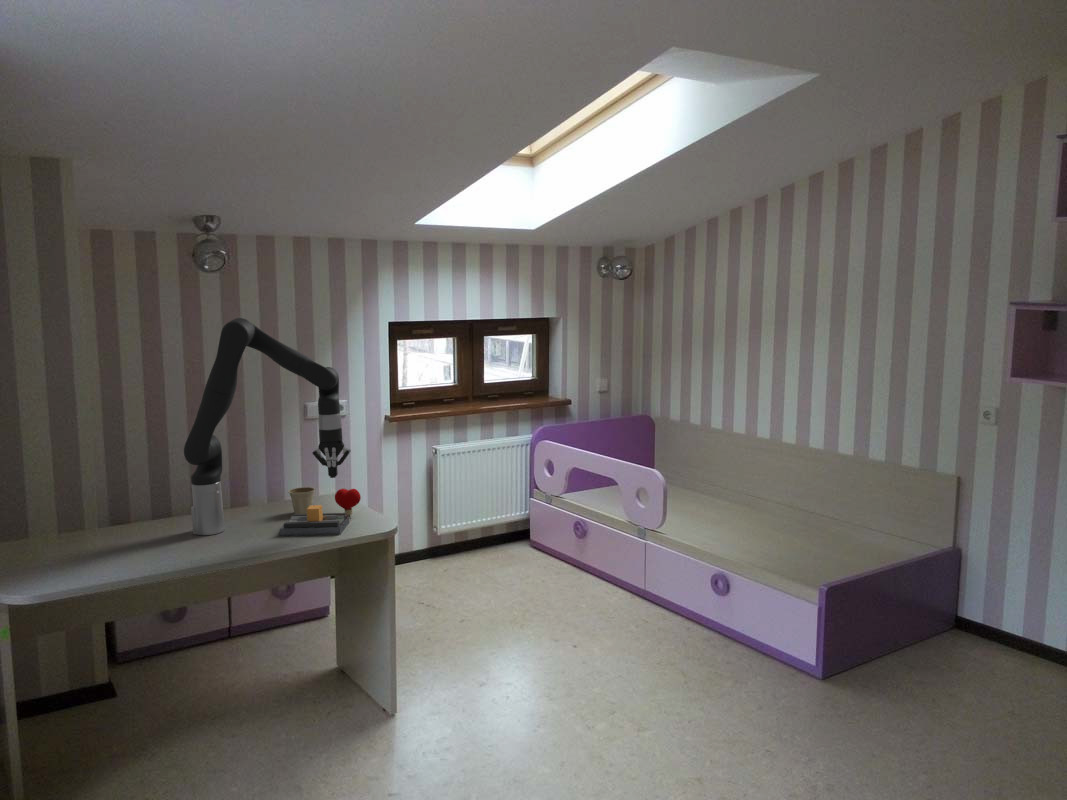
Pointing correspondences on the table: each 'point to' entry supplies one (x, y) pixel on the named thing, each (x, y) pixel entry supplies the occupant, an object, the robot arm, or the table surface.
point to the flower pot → (301, 499)
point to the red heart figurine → (347, 499)
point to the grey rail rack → (313, 524)
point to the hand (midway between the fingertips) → (333, 477)
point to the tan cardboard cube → (314, 513)
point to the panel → (315, 530)
